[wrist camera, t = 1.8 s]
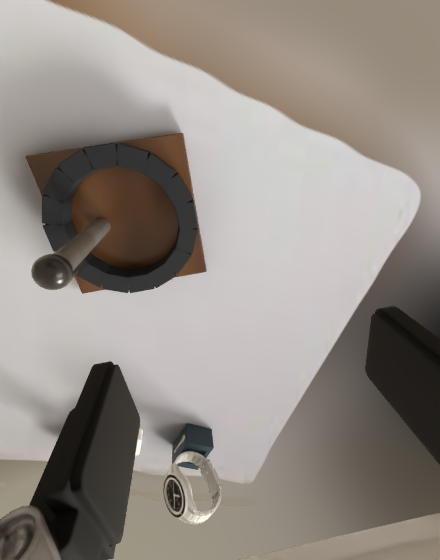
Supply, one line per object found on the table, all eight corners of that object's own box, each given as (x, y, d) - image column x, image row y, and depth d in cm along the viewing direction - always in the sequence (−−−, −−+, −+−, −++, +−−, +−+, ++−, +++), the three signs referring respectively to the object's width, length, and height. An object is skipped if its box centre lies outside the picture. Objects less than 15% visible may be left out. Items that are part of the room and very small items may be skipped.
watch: (175, 420, 42) (173, 502, 32) (221, 431, 45) (232, 510, 35) (161, 443, 44) (155, 527, 34) (205, 452, 47) (211, 533, 37)
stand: (85, 289, 31) (20, 381, 19) (31, 155, 25) (-118, 161, 13) (205, 267, 32) (221, 343, 19) (182, 133, 26) (184, 117, 13)
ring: (82, 292, 30) (75, 302, 28) (26, 157, 24) (12, 157, 22) (205, 271, 31) (207, 279, 29) (182, 134, 25) (181, 132, 23)
